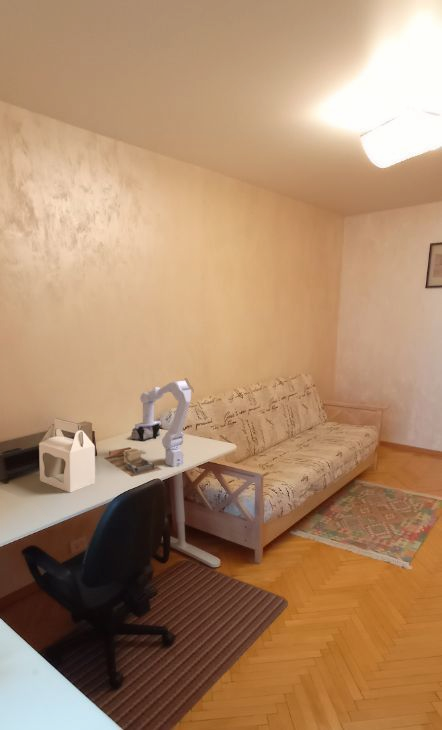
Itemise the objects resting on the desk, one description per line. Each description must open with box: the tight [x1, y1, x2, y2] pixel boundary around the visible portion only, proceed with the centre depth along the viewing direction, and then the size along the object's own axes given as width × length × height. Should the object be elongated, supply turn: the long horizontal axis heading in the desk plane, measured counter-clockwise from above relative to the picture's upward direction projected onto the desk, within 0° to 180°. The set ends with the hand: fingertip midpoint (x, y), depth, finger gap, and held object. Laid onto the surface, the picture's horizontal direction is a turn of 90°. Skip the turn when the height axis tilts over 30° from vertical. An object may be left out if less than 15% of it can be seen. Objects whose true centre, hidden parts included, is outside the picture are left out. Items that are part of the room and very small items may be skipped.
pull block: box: [108, 447, 142, 465], centre depth 214 cm, size 16×12×6 cm
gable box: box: [38, 418, 96, 493], centre depth 185 cm, size 22×13×28 cm, turn 56°
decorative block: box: [67, 421, 93, 443], centre depth 211 cm, size 11×6×20 cm, turn 147°
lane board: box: [103, 454, 163, 478], centre depth 209 cm, size 32×16×4 cm, turn 39°
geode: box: [130, 426, 161, 441], centre depth 260 cm, size 20×12×10 cm, turn 147°
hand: (148, 439), depth 222 cm, fingers open, 7 cm apart
